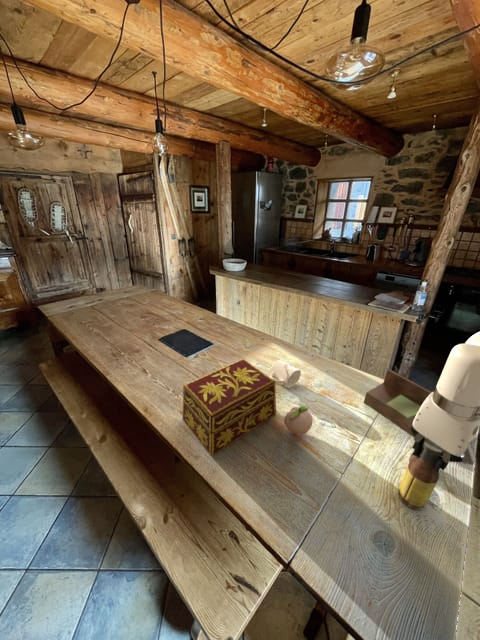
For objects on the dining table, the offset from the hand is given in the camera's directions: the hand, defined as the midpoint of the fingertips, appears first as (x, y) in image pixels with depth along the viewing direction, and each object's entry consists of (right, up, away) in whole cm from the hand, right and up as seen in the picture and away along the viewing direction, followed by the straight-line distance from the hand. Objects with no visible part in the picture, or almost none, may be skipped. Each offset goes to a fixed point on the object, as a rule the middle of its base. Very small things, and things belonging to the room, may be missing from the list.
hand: (427, 459), depth 63 cm
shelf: (+14, -1, +32) cm, 35 cm away
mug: (-27, +7, +48) cm, 55 cm away
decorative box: (-48, -1, +30) cm, 57 cm away
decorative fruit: (-25, -4, +25) cm, 36 cm away
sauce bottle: (0, -13, +7) cm, 15 cm away
